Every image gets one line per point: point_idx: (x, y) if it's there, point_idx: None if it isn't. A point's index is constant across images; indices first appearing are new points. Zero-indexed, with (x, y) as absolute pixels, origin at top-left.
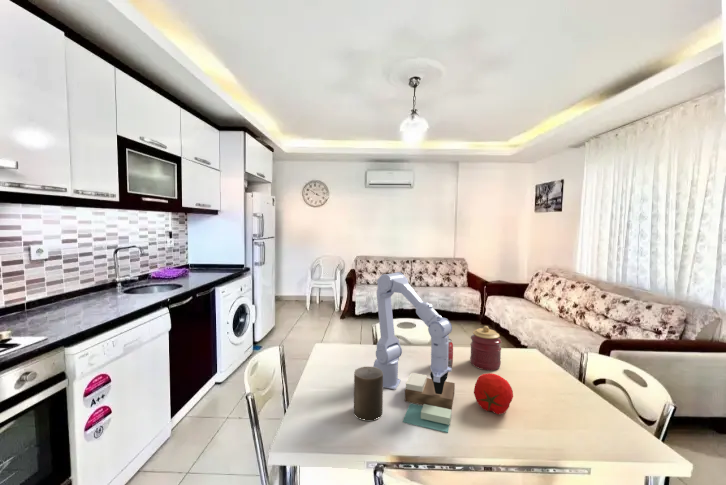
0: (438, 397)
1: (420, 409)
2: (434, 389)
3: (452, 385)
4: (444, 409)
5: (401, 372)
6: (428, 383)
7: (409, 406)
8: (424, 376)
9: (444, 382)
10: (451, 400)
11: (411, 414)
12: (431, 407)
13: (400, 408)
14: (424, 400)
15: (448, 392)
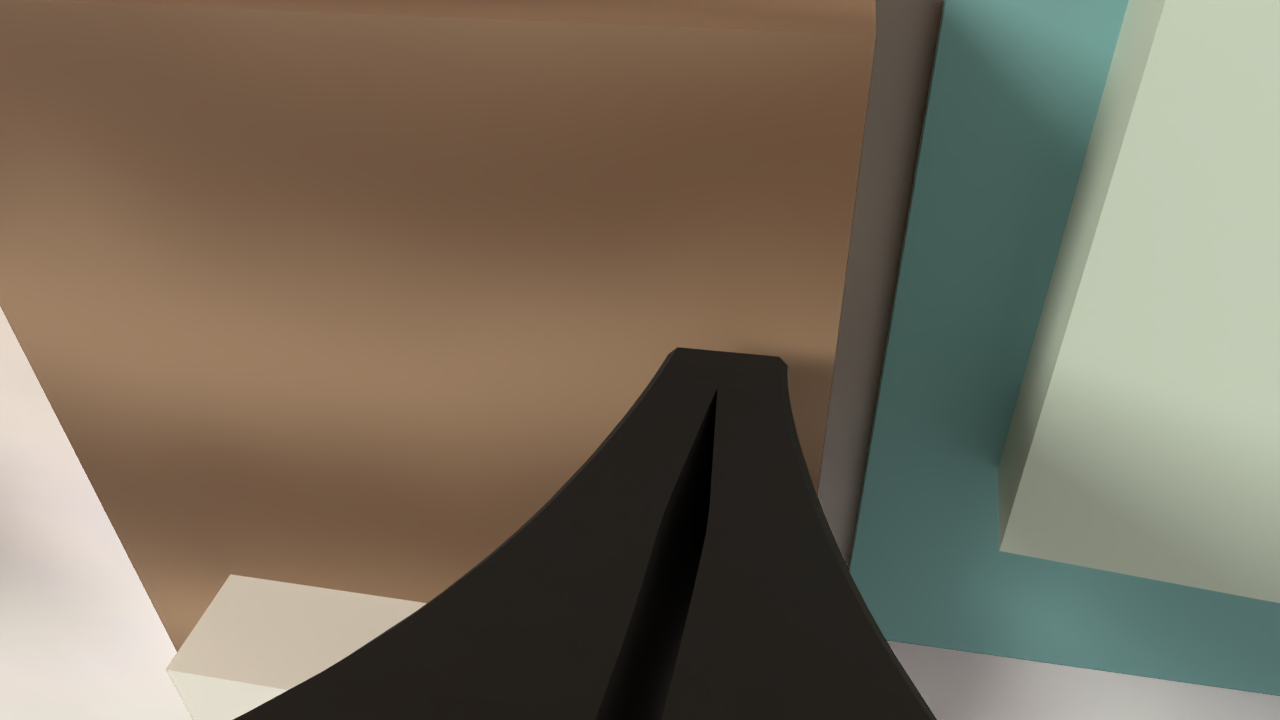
0: (832, 377)
1: (998, 512)
2: (505, 459)
3: (23, 51)
4: (1202, 169)
5: (84, 691)
6: (323, 553)
7: (942, 639)
8: (247, 707)
9: (918, 701)
10: (874, 33)
11: (1189, 621)
12: (1143, 440)
13: (999, 712)
14: None
15: (482, 150)
